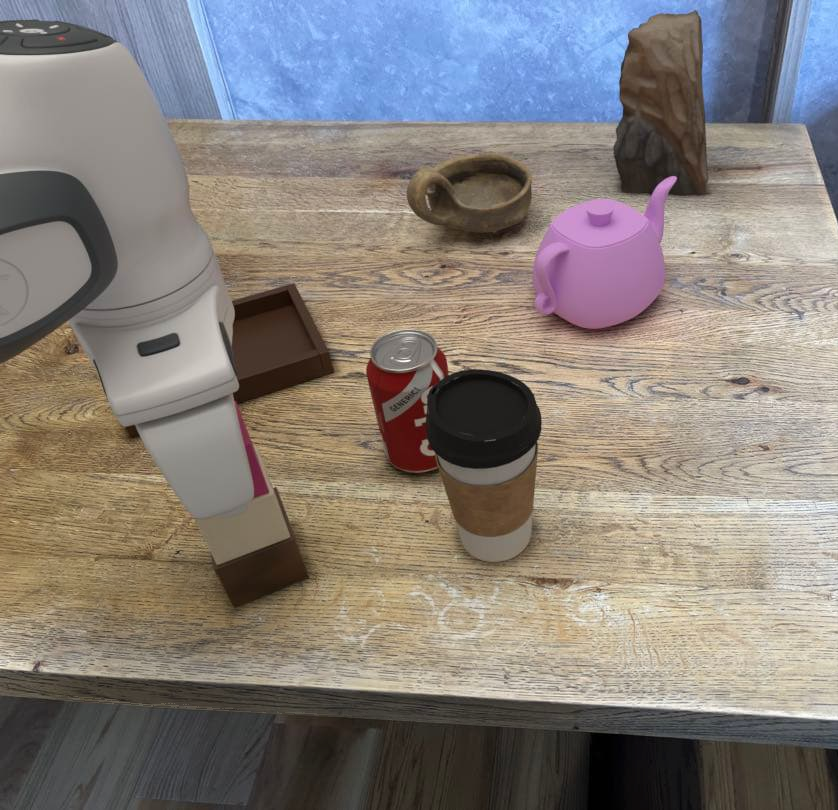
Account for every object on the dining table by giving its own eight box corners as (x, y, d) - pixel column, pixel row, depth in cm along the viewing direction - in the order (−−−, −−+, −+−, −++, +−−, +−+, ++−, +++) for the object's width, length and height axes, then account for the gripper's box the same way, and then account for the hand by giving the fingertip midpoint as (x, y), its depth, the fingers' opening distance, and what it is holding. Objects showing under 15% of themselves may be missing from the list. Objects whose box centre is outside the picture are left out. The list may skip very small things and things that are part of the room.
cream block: (217, 565, 60) (195, 522, 57) (204, 514, 64) (182, 471, 60) (290, 537, 62) (274, 494, 58) (273, 489, 65) (257, 445, 62)
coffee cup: (467, 486, 72) (448, 353, 62) (559, 507, 70) (555, 373, 59) (429, 561, 66) (401, 428, 56) (528, 586, 64) (518, 452, 54)
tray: (130, 438, 78) (119, 417, 76) (115, 357, 87) (105, 336, 85) (334, 372, 84) (328, 351, 82) (300, 303, 93) (294, 282, 91)
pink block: (198, 518, 57) (174, 469, 54) (187, 472, 60) (163, 423, 57) (269, 492, 59) (250, 443, 55) (254, 449, 62) (235, 400, 58)
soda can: (374, 471, 73) (348, 369, 65) (401, 420, 78) (380, 319, 70) (445, 483, 72) (428, 380, 64) (468, 431, 77) (455, 329, 69)
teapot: (579, 362, 84) (579, 264, 76) (499, 306, 92) (492, 212, 84) (709, 286, 93) (722, 192, 85) (627, 241, 101) (631, 151, 93)
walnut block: (233, 608, 63) (214, 569, 60) (219, 553, 67) (200, 513, 64) (309, 578, 65) (294, 538, 62) (291, 526, 69) (276, 486, 66)
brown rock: (611, 194, 110) (615, 39, 96) (615, 152, 119) (619, 5, 105) (707, 196, 108) (724, 39, 95) (703, 153, 118) (719, 5, 104)
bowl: (558, 219, 105) (556, 145, 99) (453, 274, 97) (443, 197, 90) (488, 184, 113) (482, 114, 106) (385, 232, 104) (371, 159, 98)
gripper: (82, 241, 55) (155, 394, 64) (113, 427, 41) (200, 587, 50) (179, 217, 57) (236, 369, 66) (239, 387, 43) (300, 548, 52)
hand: (221, 465), depth 58 cm, fingers open, 8 cm apart
